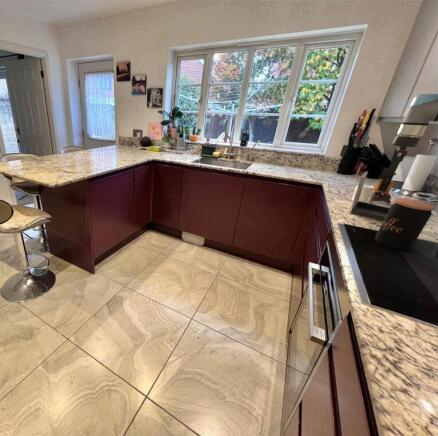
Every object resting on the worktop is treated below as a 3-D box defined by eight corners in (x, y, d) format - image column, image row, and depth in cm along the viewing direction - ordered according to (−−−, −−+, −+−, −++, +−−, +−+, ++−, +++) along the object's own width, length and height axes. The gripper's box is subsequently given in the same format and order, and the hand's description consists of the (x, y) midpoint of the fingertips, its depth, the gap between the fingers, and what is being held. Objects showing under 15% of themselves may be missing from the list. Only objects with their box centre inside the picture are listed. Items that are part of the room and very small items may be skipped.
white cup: (369, 204, 136) (377, 188, 132) (353, 202, 138) (360, 186, 134) (362, 200, 143) (370, 185, 139) (347, 198, 145) (354, 183, 141)
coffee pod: (392, 194, 103) (398, 183, 100) (377, 192, 104) (382, 181, 102) (384, 190, 108) (390, 179, 106) (370, 189, 109) (375, 178, 107)
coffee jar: (368, 236, 99) (388, 196, 92) (398, 240, 97) (421, 200, 89) (383, 248, 90) (406, 205, 82) (417, 253, 87) (444, 210, 80)
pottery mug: (394, 207, 136) (395, 196, 132) (373, 211, 140) (373, 200, 136) (383, 195, 145) (384, 185, 141) (364, 200, 149) (364, 189, 145)
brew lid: (367, 171, 126) (365, 171, 126) (363, 176, 113) (361, 176, 114) (358, 200, 132) (356, 199, 132) (353, 208, 119) (351, 207, 120)
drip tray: (391, 214, 124) (394, 208, 122) (389, 224, 111) (392, 218, 110) (355, 205, 134) (357, 200, 132) (349, 214, 121) (351, 208, 120)
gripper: (396, 134, 104) (373, 184, 114) (394, 136, 92) (368, 191, 102) (421, 136, 99) (394, 188, 109) (422, 138, 87) (392, 196, 97)
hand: (382, 189), depth 105 cm, fingers closed on coffee pod, 6 cm apart
